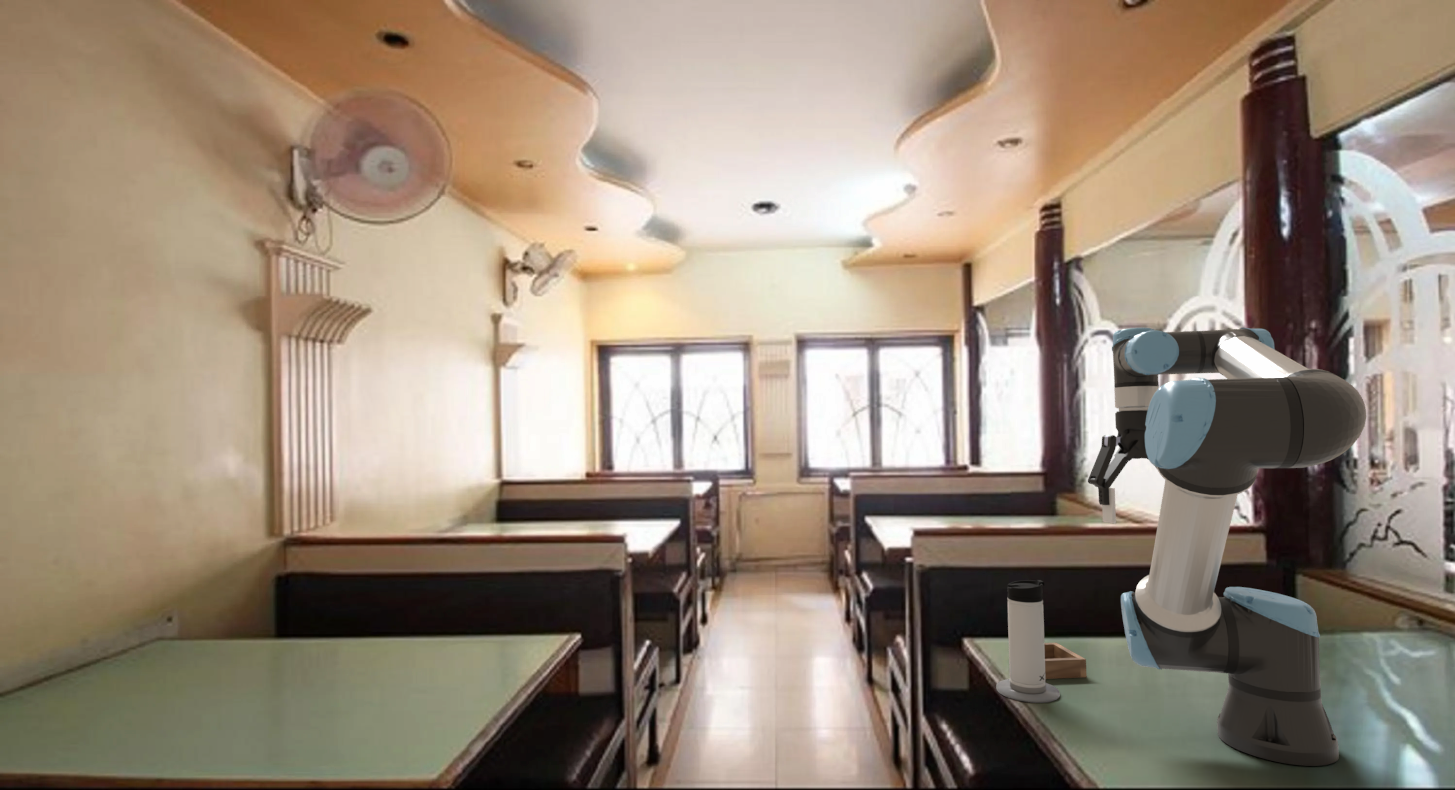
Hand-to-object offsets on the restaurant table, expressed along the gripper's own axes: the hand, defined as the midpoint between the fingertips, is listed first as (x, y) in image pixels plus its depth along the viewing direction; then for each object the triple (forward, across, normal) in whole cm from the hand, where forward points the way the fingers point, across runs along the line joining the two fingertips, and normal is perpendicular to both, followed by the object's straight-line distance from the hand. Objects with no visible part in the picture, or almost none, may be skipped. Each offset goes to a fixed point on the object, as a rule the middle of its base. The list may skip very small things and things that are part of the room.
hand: (1141, 521), depth 140 cm
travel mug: (+31, +22, -4) cm, 38 cm away
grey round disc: (+31, +22, -4) cm, 39 cm away
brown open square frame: (+31, +11, -15) cm, 36 cm away
